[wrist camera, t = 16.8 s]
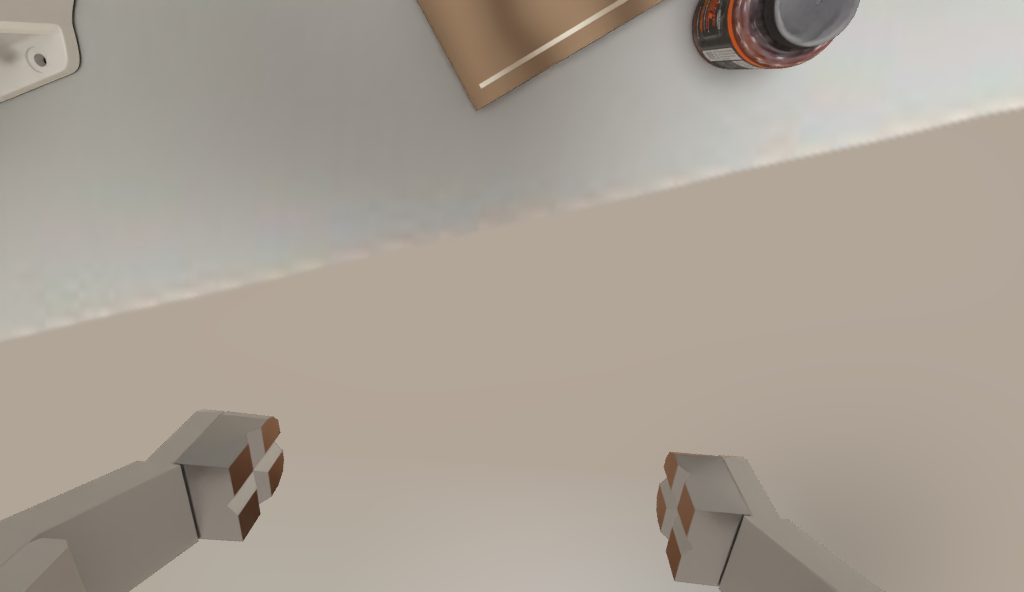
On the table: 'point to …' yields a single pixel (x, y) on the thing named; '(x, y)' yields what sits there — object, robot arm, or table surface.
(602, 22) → the walnut board
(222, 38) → the table surface
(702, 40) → the supplement bottle
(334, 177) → the table surface
